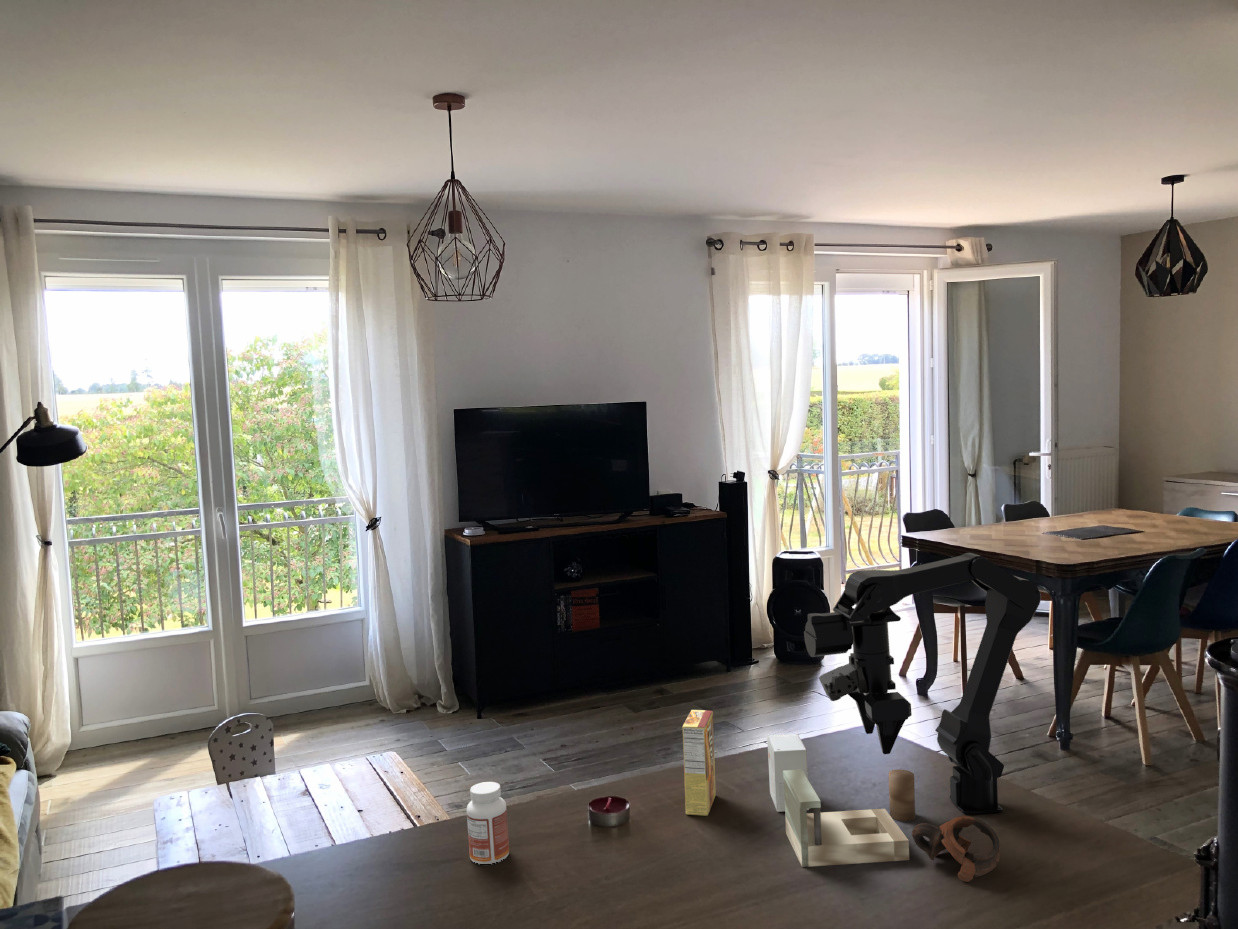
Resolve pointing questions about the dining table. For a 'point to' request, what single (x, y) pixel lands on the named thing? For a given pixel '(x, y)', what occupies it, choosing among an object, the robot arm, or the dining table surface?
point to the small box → (784, 763)
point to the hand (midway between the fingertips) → (877, 743)
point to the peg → (902, 795)
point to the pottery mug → (958, 844)
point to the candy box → (699, 762)
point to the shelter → (837, 830)
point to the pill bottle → (487, 824)
